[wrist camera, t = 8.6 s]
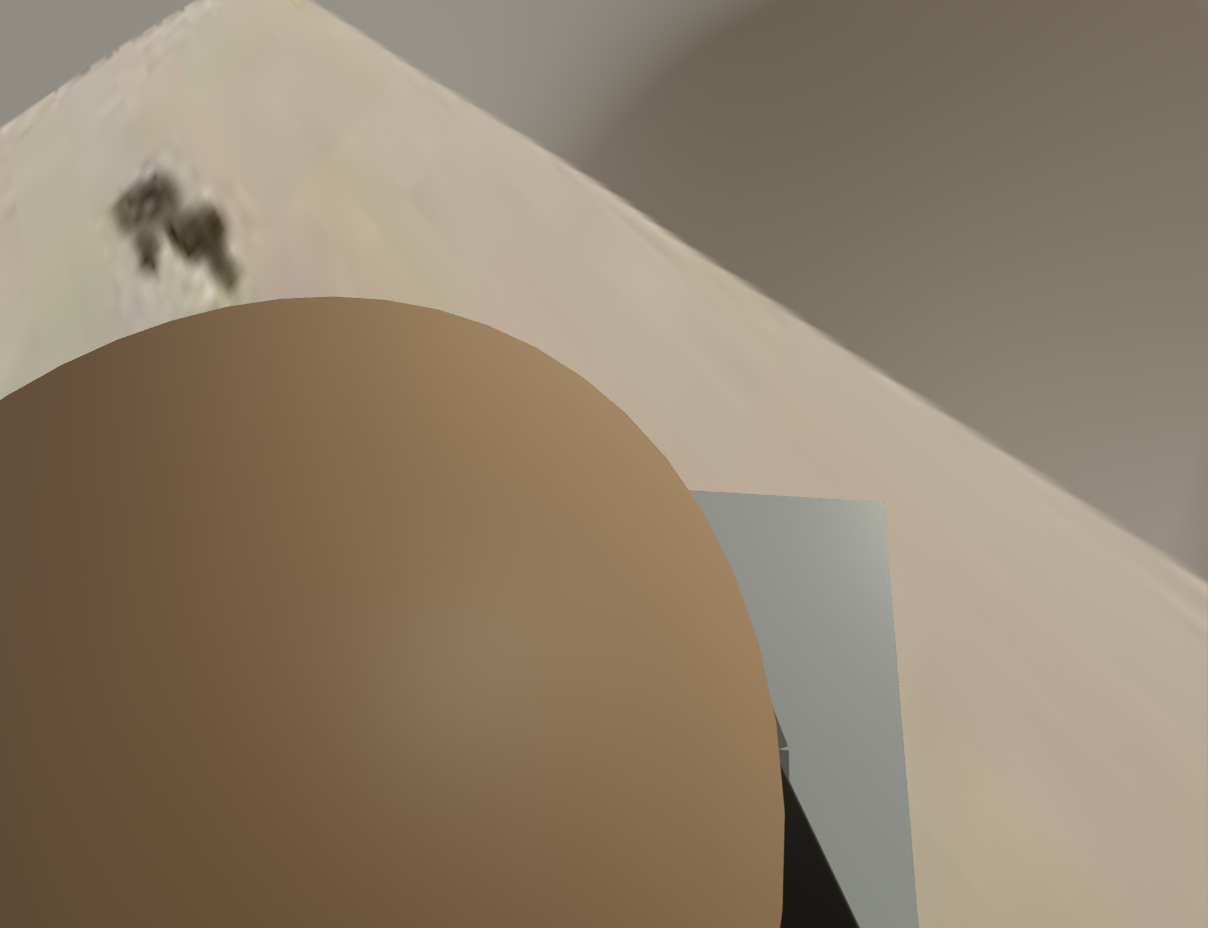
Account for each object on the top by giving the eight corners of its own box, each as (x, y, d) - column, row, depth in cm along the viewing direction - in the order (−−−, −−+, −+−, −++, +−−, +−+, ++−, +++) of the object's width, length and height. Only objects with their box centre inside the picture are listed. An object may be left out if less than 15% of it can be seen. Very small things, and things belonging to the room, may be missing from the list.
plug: (574, 972, 13) (-189, 2696, 1) (410, 784, 15) (-563, 807, 3) (730, 764, 14) (1033, 706, 3) (564, 613, 16) (303, 174, 4)
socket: (928, 1239, 14) (1007, 1380, 11) (211, 1109, 16) (95, 1195, 12) (873, 514, 20) (913, 466, 17) (376, 482, 22) (329, 434, 19)
